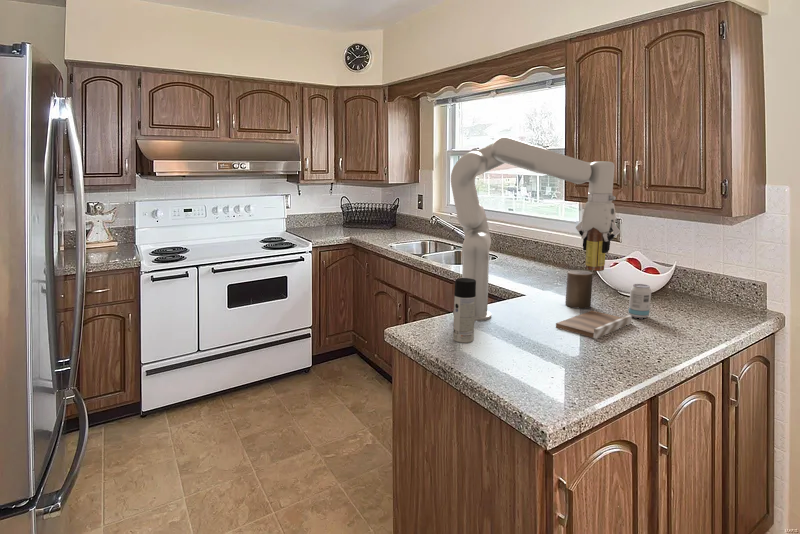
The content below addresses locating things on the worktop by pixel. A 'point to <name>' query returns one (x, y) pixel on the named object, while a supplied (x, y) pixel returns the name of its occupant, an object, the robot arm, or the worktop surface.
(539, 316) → the worktop surface
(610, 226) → the robot arm
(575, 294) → the pillar candle
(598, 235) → the sauce bottle
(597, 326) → the shelf board
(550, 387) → the worktop surface
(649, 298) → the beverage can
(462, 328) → the spray can
